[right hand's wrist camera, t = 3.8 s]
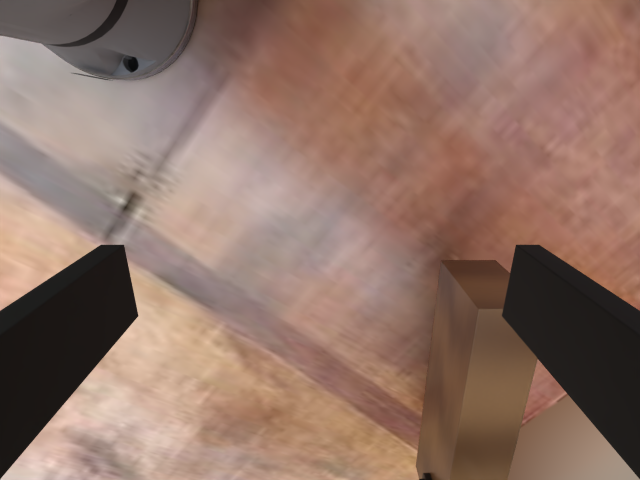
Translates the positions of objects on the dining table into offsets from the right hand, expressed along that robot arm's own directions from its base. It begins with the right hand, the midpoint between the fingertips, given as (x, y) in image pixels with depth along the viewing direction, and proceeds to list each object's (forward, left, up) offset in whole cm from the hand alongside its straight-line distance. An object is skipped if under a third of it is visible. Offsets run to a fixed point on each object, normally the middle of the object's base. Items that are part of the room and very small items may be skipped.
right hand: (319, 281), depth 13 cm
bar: (+12, +23, -20) cm, 33 cm away
